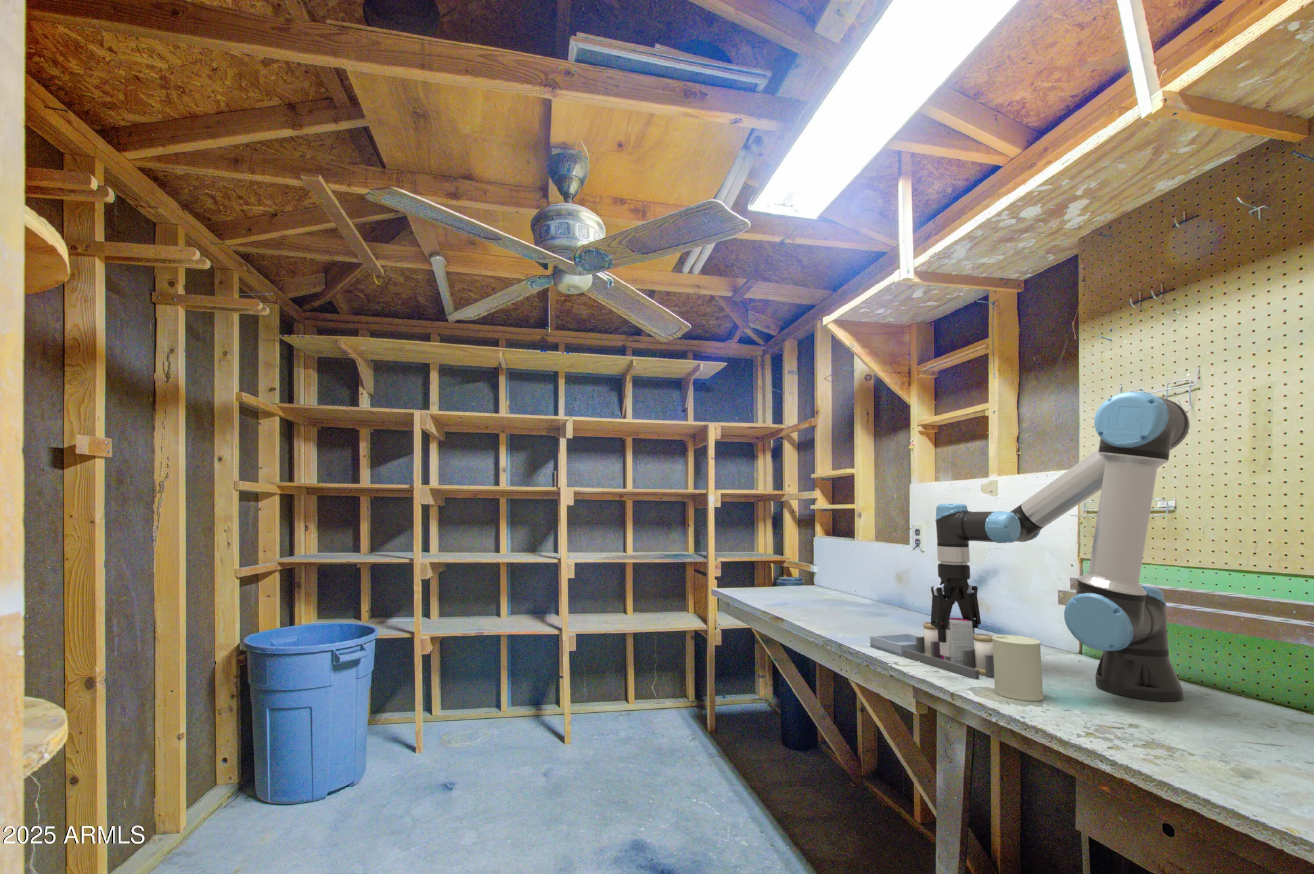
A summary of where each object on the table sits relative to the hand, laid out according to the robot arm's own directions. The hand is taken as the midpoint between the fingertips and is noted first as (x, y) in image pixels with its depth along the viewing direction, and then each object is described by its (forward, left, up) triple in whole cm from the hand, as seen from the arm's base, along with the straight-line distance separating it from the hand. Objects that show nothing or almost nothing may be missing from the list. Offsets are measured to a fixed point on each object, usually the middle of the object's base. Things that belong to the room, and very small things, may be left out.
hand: (957, 654), depth 154 cm
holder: (0, 0, -3) cm, 3 cm away
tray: (+18, 0, -3) cm, 18 cm away
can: (-23, +8, -3) cm, 25 cm away
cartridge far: (+8, 0, -3) cm, 8 cm away
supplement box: (0, 0, -3) cm, 3 cm away
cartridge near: (-8, 0, -3) cm, 8 cm away
